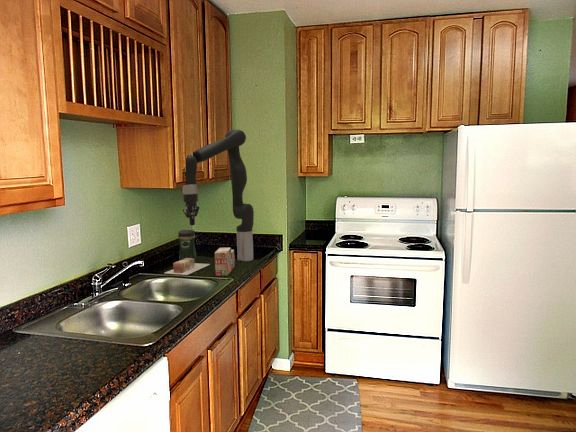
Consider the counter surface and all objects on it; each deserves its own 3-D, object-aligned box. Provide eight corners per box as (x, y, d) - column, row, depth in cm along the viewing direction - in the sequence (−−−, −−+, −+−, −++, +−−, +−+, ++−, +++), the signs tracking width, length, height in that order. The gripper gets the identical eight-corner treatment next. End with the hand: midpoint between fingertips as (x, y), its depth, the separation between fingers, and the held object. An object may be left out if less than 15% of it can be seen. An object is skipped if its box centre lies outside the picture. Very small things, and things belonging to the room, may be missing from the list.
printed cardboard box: (224, 266, 242) (223, 244, 240) (235, 265, 241) (234, 244, 240) (215, 276, 220) (214, 252, 219) (227, 275, 220) (226, 252, 219)
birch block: (186, 258, 236) (173, 263, 225) (194, 258, 235) (181, 263, 223) (186, 267, 237) (173, 272, 226) (194, 267, 235) (182, 273, 224)
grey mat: (189, 264, 247) (188, 262, 247) (210, 265, 243) (210, 264, 243) (163, 274, 225) (163, 273, 225) (186, 276, 220) (186, 274, 220)
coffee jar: (198, 259, 259) (196, 228, 257) (194, 262, 251) (192, 230, 249) (182, 259, 260) (180, 228, 258) (178, 262, 252) (176, 231, 250)
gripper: (191, 191, 238) (193, 223, 240) (177, 194, 226) (179, 227, 228) (202, 191, 235) (204, 223, 238) (189, 194, 223) (191, 227, 225)
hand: (192, 225), depth 233 cm, fingers closed
